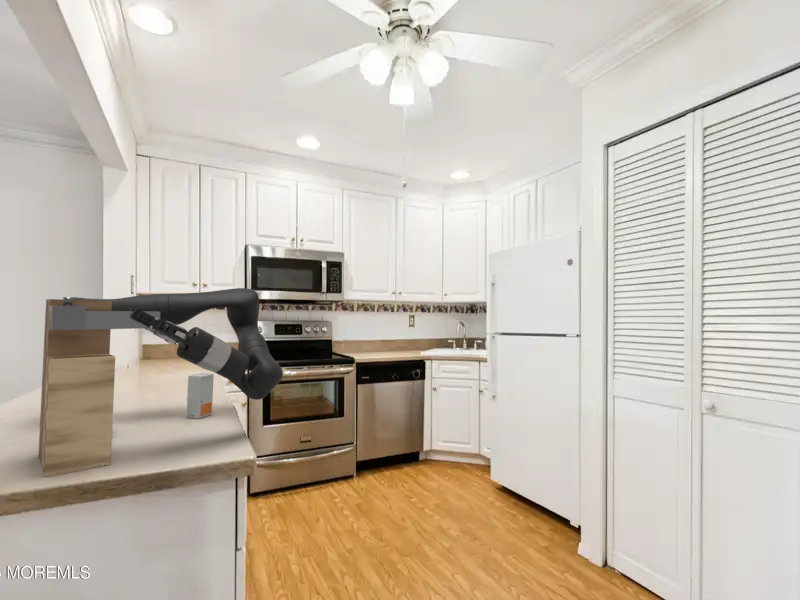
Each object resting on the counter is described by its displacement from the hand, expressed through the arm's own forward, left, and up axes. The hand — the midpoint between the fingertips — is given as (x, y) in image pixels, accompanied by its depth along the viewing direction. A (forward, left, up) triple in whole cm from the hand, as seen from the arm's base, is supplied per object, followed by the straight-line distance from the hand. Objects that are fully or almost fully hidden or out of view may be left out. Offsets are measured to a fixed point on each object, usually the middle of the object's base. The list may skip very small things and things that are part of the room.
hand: (131, 312), depth 89 cm
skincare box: (-27, +23, -30) cm, 47 cm away
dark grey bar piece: (0, -4, -3) cm, 5 cm away
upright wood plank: (-5, -8, -30) cm, 31 cm away
